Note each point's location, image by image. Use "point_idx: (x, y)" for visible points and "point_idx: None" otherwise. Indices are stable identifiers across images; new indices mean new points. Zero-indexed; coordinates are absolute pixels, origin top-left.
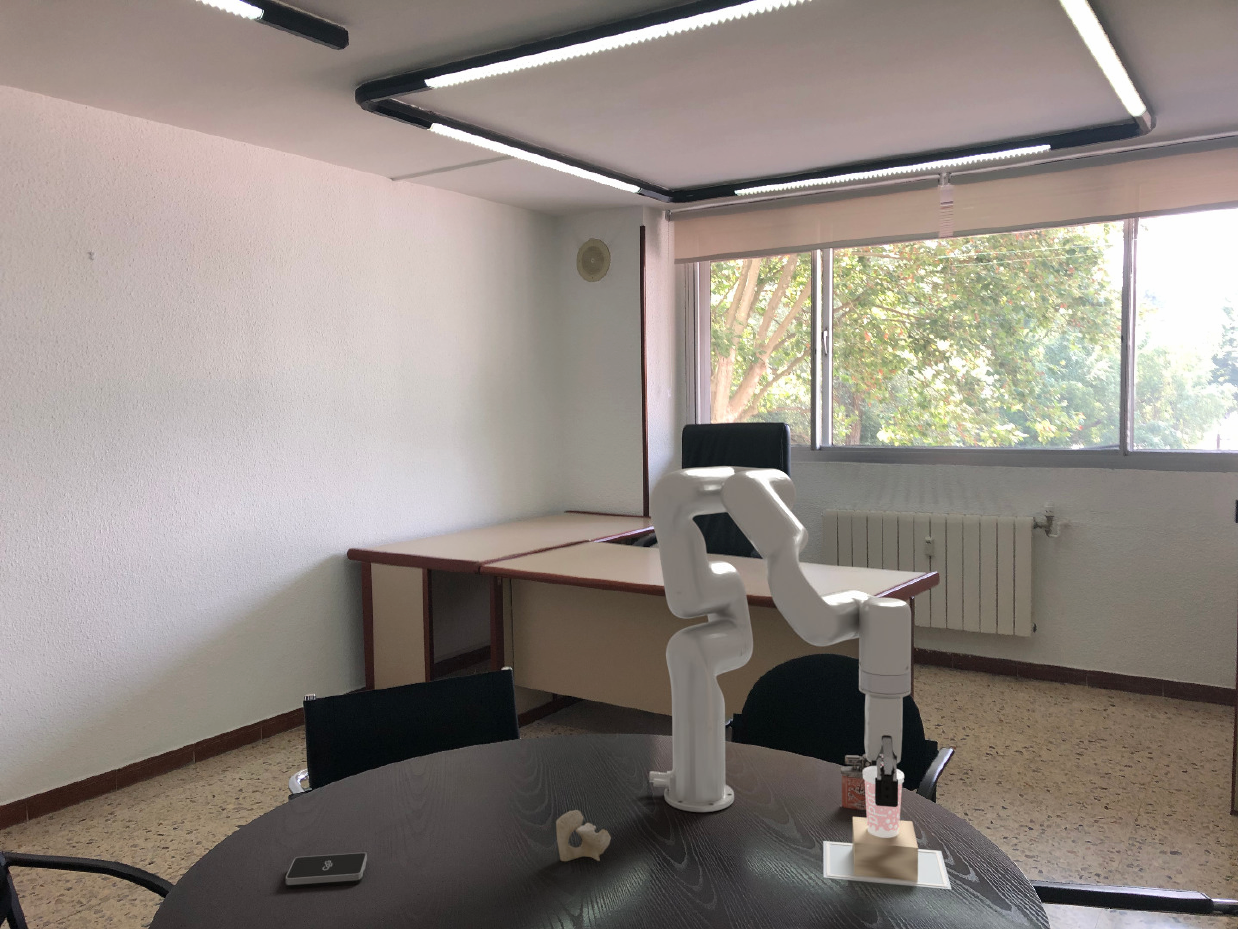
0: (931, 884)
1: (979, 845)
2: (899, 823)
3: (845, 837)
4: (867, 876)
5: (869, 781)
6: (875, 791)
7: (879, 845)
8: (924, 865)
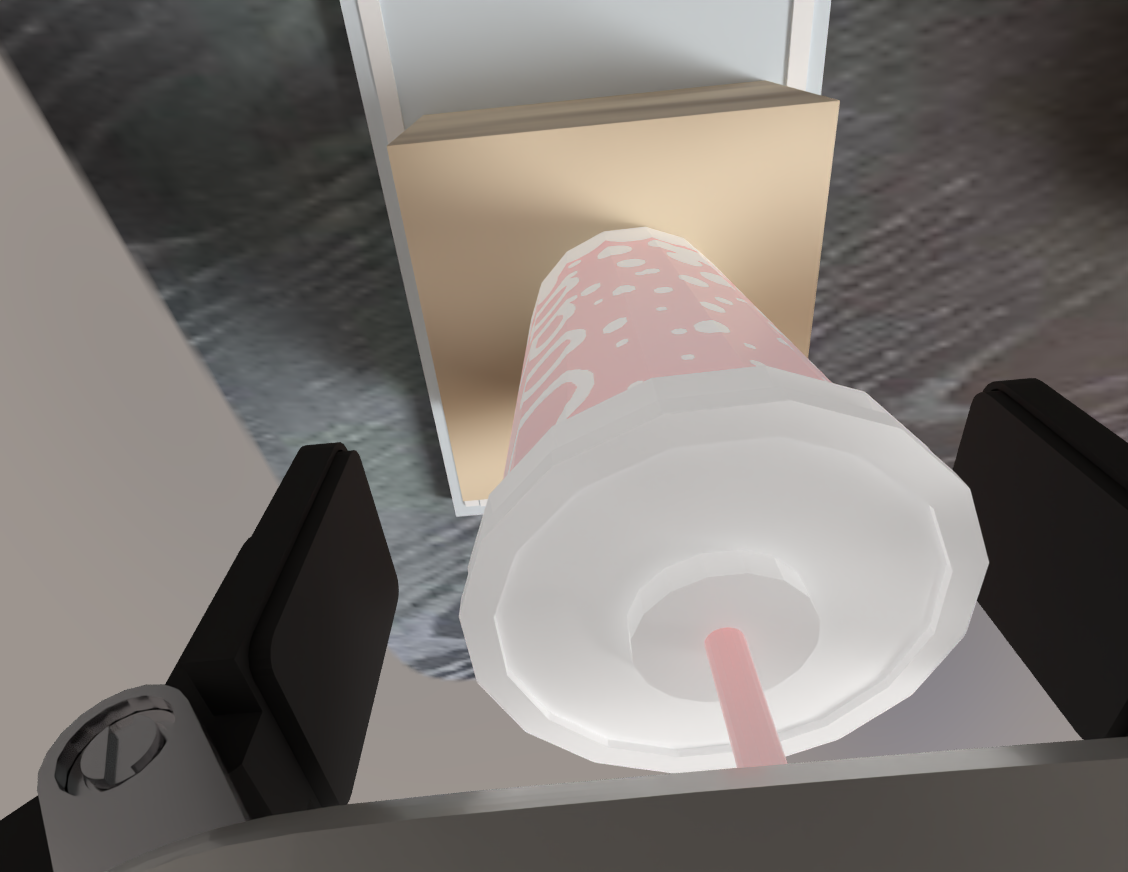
0: None
1: None
2: None
3: (975, 14)
4: None
5: (523, 468)
6: (257, 532)
7: (423, 312)
8: None
